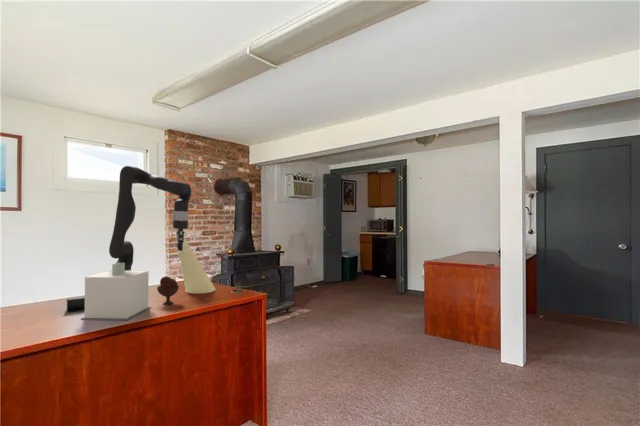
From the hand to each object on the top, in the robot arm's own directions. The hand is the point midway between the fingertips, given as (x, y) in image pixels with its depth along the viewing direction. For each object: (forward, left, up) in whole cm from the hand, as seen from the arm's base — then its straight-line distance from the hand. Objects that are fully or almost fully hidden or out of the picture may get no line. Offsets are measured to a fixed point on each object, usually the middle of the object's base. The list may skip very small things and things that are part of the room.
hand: (179, 249), depth 190 cm
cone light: (-3, +34, -30) cm, 45 cm away
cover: (-22, -18, -29) cm, 41 cm away
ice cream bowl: (-6, +1, -30) cm, 30 cm away
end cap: (-45, -13, -30) cm, 56 cm away
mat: (-22, -18, -30) cm, 41 cm away
